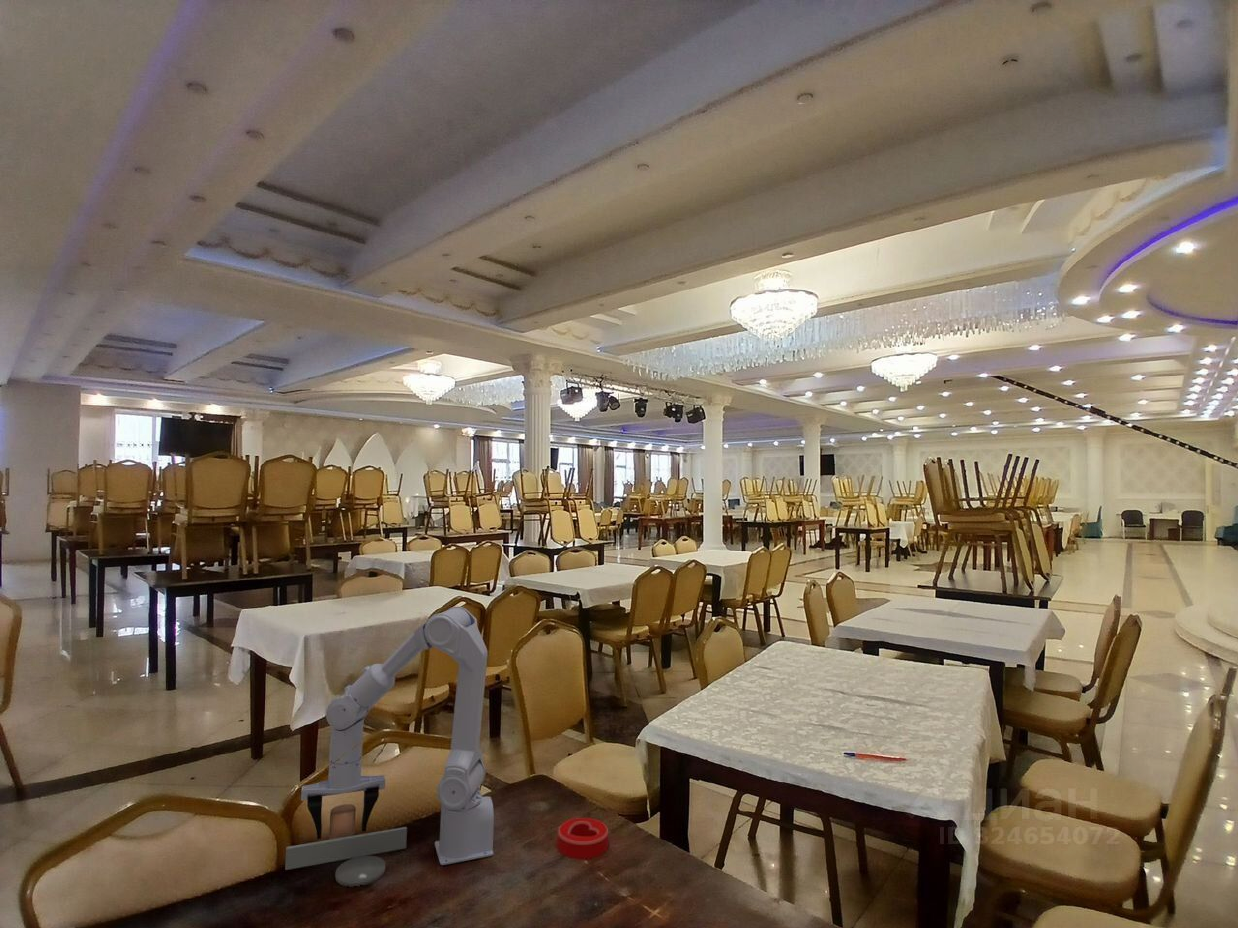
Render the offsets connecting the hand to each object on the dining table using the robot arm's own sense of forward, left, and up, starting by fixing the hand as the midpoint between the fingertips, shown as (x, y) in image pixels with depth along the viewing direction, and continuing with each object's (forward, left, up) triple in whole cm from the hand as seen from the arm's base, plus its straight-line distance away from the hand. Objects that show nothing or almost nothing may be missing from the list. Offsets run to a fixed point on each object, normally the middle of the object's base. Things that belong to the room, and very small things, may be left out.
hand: (341, 832), depth 120 cm
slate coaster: (-3, +12, -2) cm, 12 cm away
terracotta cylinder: (0, 0, -2) cm, 2 cm away
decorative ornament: (-42, +17, -2) cm, 45 cm away
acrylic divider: (-1, +6, -2) cm, 6 cm away
